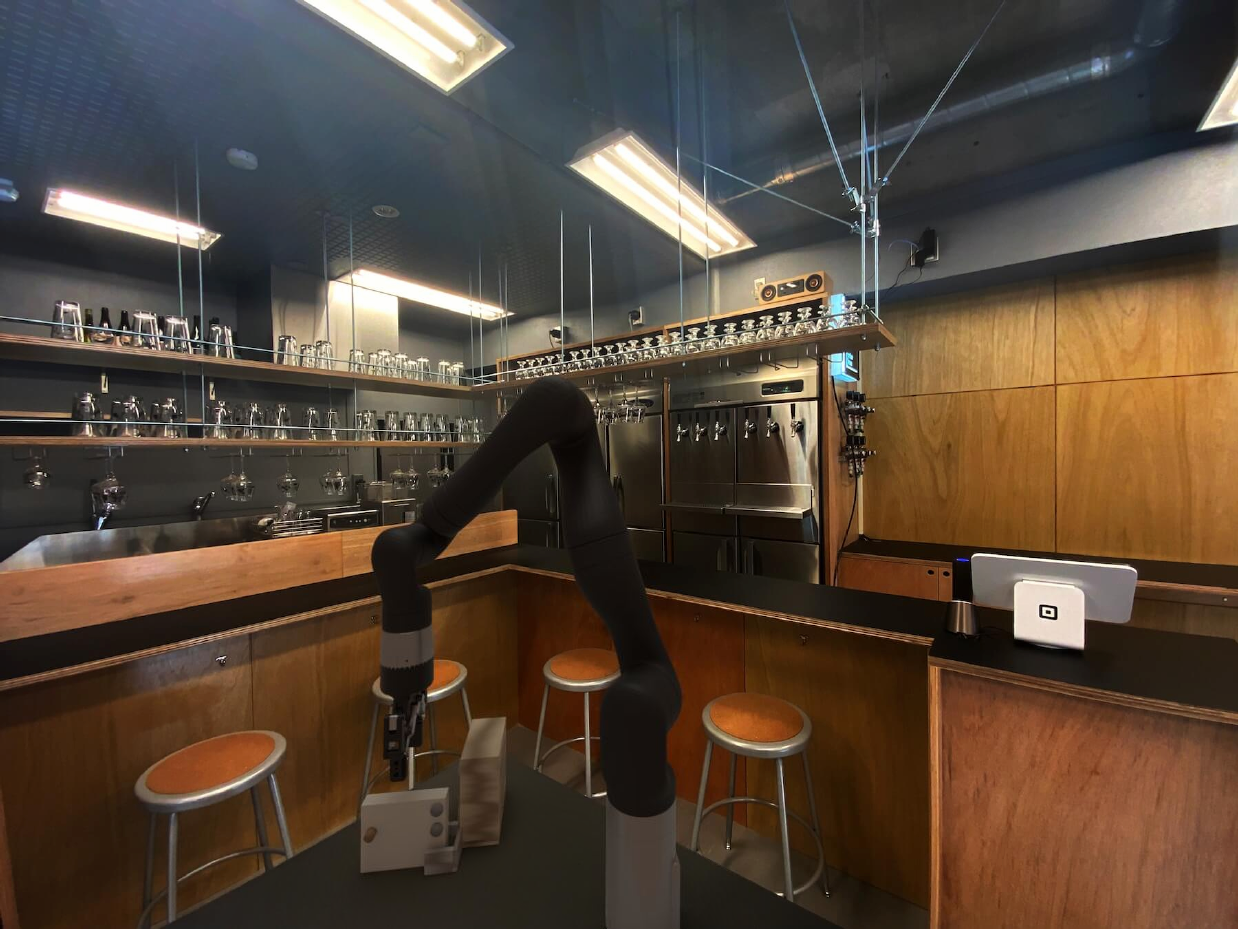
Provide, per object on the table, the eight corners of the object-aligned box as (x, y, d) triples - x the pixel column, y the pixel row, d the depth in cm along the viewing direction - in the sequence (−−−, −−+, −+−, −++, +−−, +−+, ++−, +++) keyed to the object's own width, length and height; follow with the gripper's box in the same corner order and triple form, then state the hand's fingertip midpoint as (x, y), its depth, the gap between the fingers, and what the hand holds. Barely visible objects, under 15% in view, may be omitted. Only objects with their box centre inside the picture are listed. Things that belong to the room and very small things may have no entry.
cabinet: (505, 792, 87) (506, 717, 87) (495, 867, 71) (496, 774, 71) (448, 798, 86) (448, 721, 86) (424, 875, 69) (425, 780, 70)
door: (448, 851, 74) (448, 787, 74) (443, 870, 70) (443, 803, 70) (366, 860, 72) (367, 794, 72) (357, 880, 69) (357, 811, 69)
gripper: (420, 673, 66) (420, 791, 65) (443, 637, 80) (443, 734, 80) (363, 677, 65) (363, 796, 64) (396, 640, 79) (396, 738, 78)
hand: (407, 762), depth 72 cm, fingers open, 8 cm apart
